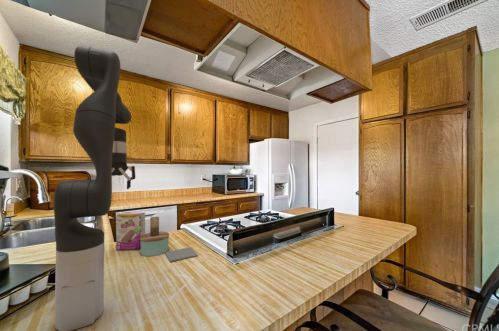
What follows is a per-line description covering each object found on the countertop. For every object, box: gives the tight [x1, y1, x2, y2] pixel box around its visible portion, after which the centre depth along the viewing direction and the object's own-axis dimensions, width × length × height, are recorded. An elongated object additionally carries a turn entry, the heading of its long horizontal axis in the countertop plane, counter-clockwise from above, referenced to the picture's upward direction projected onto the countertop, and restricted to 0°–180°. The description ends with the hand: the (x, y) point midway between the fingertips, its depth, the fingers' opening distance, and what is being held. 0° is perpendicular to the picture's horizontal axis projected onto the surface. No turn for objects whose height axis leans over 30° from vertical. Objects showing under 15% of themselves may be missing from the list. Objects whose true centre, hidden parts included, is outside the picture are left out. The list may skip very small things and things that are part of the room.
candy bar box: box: [115, 211, 146, 251], centre depth 99 cm, size 11×5×16 cm, turn 92°
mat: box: [165, 246, 199, 263], centre depth 90 cm, size 11×11×1 cm
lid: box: [140, 216, 170, 242], centre depth 95 cm, size 12×12×9 cm
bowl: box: [139, 236, 170, 257], centre depth 94 cm, size 11×11×6 cm
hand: (116, 189), depth 92 cm, fingers open, 8 cm apart
